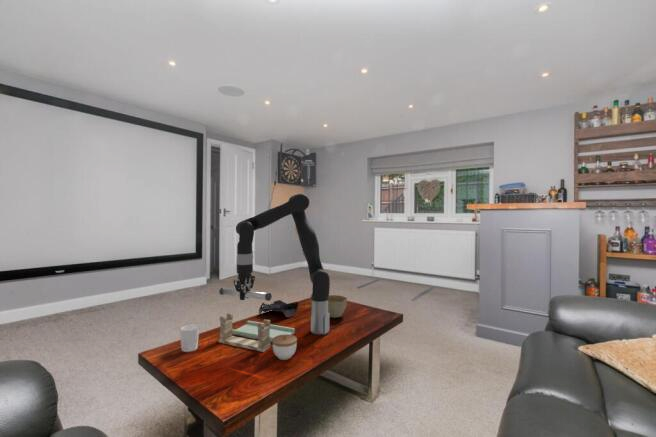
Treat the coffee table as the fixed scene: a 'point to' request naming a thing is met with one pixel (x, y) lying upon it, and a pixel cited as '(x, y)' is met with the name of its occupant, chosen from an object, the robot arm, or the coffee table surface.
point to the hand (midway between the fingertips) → (244, 298)
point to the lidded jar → (284, 346)
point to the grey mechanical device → (280, 307)
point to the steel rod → (246, 294)
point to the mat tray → (252, 331)
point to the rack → (258, 345)
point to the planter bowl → (336, 305)
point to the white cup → (189, 337)
